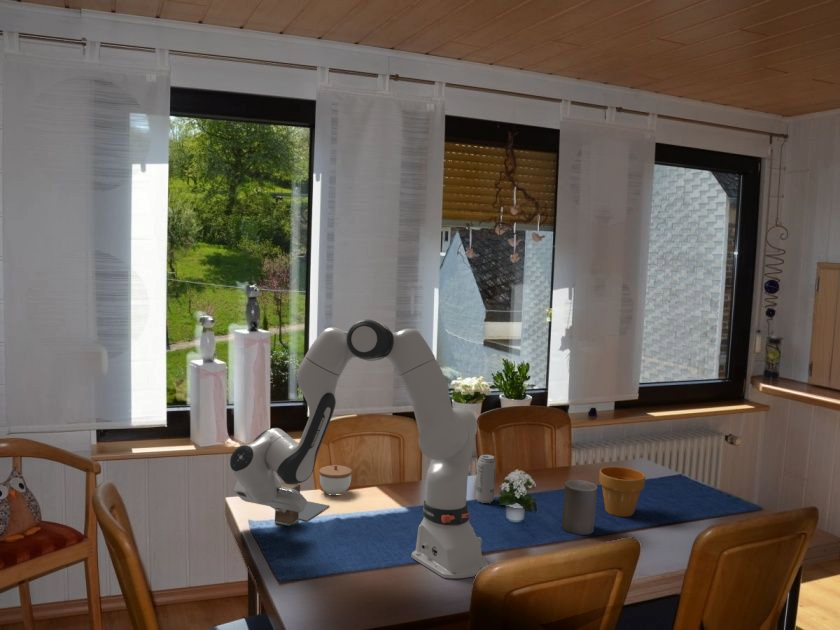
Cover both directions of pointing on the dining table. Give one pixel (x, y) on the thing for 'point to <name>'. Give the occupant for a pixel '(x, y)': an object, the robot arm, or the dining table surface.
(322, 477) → the lidded jar
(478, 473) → the energy drink can
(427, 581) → the dining table surface
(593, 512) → the pillar candle
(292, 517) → the walnut block
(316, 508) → the felt mat
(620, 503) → the flower pot
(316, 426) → the robot arm
